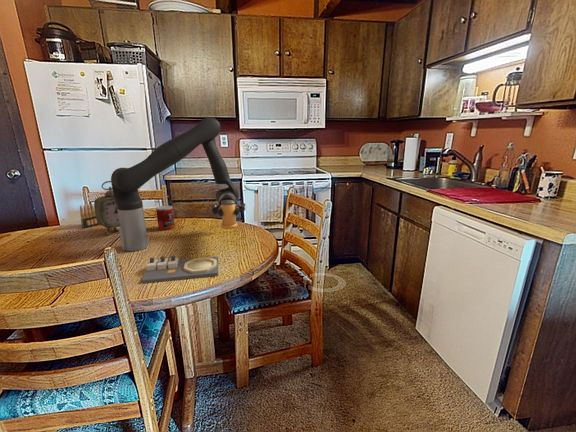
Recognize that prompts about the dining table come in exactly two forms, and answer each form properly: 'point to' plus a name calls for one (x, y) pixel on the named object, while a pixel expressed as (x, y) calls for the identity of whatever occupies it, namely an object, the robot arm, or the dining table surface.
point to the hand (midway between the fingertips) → (228, 213)
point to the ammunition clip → (88, 217)
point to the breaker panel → (179, 269)
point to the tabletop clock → (107, 210)
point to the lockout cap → (228, 214)
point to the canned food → (165, 217)
